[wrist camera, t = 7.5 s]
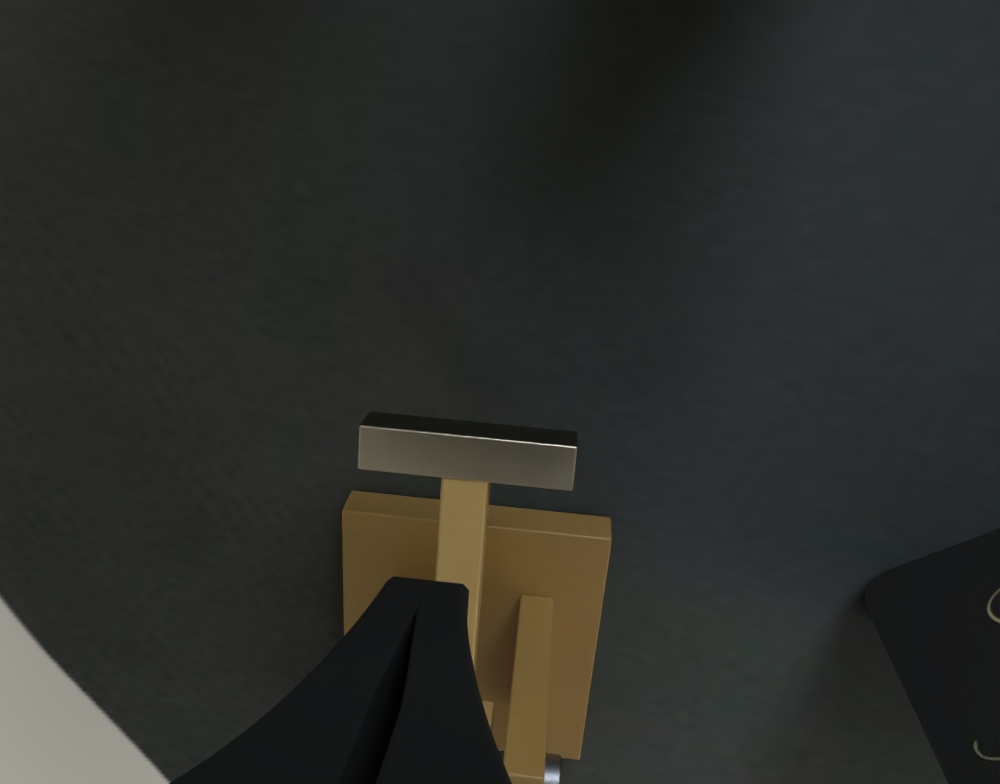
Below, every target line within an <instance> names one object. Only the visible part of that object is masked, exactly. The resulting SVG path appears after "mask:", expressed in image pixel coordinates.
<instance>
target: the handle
mask: <svg viewBox="0 0 1000 784" xmlns="http://www.w3.org/2000/svg"><path fill="white" fill-rule="evenodd" d="M577 452H578V437H577V432H574V431H564V430H554V429H543V428H533V427H523V426H513V425H503V424H493V423H483V422H473V421H463V420H452V419H442V418H432V417H422V416H412V415H402V414H392V413H382V412H372V411H371V412H369V413H368V415H367V416H366V417H365V419H364V420H363V421H362V422H361V424H360V425H359V439H358V469H363V470H373V471H383V472H392V473H402V474H412V475H421V476H431V477H441V491H440V507H439V523H438V539H437V555H436V571H435V581H442V582H451V583H460V584H464V585H465V586H466V587H467V588H468V590H469V601H468V617H467V626H468V636H469V643H470V650H471V655H472V660H473V665H474V670H476V658H477V645H478V633H479V620H480V608H481V596H482V583H483V571H484V558H485V546H486V533H487V521H488V509H489V496H490V484H491V483H499V484H509V485H519V486H529V487H538V488H548V489H558V490H568V491H572V490H573V488H574V479H575V470H576V461H577ZM482 702H483V706H484V709H485V713H486V716H487V719H488V722H489V726H490V729H491V731H492V727H493V716H494V703H493V702H489V701H482Z"/></svg>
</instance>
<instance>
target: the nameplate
mask: <svg viewBox="0 0 1000 784" xmlns="http://www.w3.org/2000/svg"><path fill="white" fill-rule="evenodd" d="M864 602H865V606H866V608H867V610H868V612H869V614H870V616H871V618H872V620H873V623H874V625H875V627H876V629H877V631H878V633H879V635H880V638H881V640H882V642H883V644H884V646H885V648H886V650H887V652H888V655H889V657H890V659H891V661H892V663H893V665H894V667H895V670H896V672H897V674H898V676H899V678H900V680H901V682H902V685H903V687H904V689H905V691H906V693H907V695H908V697H909V700H910V702H911V704H912V706H913V708H914V710H915V712H916V715H917V717H918V719H919V721H920V723H921V725H922V727H923V730H924V732H925V734H926V736H927V738H928V740H929V742H930V744H931V747H932V749H933V751H934V753H935V755H936V757H937V759H938V762H939V764H940V766H941V768H942V770H943V772H944V774H945V777H946V779H947V781H948V783H949V784H1000V529H999V530H996V531H993V532H991V533H988V534H985V535H982V536H980V537H977V538H974V539H972V540H969V541H966V542H964V543H961V544H958V545H956V546H953V547H950V548H947V549H945V550H942V551H939V552H937V553H934V554H931V555H929V556H926V557H923V558H920V559H918V560H915V561H912V562H910V563H907V564H904V565H901V566H898V567H896V568H893V569H890V570H888V571H886V572H884V573H882V574H880V575H879V576H878V577H876V578H875V579H874V580H873V581H872V582H871V583H870V584H869V586H868V587H867V589H866V593H865V597H864Z"/></svg>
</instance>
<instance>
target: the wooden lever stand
mask: <svg viewBox="0 0 1000 784" xmlns="http://www.w3.org/2000/svg"><path fill="white" fill-rule="evenodd" d="M439 507H440V500H439V499H430V498H420V497H410V496H401V495H391V494H381V493H372V492H362V491H351V493H350V495H349V497H348V499H347V501H346V503H345V506H344V508H343V510H342V553H343V608H344V636H345V634H346V633H347V632H348V631H349V630H350V629H351V628H352V626H353V625H354V624H355V623H356V622H357V620H358V619H359V618H360V617H361V615H362V614H363V613H364V612H365V610H366V609H367V608H368V606H369V605H370V604H371V603H372V601H373V600H374V599H375V597H376V596H377V594H378V593H379V592H380V590H381V589H382V587H383V586H384V584H385V583H386V581H387V580H389V579H390V578H392V577H393V576H396V577H405V578H414V579H423V580H433V581H435V571H436V555H437V539H438V523H439ZM611 543H612V531H611V519H610V518H609V517H602V516H593V515H583V514H574V513H564V512H554V511H545V510H535V509H526V508H516V507H506V506H497V505H489V509H488V521H487V533H486V546H485V558H484V571H483V583H482V596H481V608H480V620H479V633H478V645H477V658H476V670H475V675H476V680H477V684H478V688H479V692H480V695H481V699H482V701H489V702H493V703H494V716H493V727H492V734H493V737H494V740H495V743H496V745H497V748H498V750H499V751H504V758H503V763H504V766H505V768H506V770H507V773H508V775H509V778H510V780H511V782H512V784H561V765H562V760H561V758H566V759H575V760H579V759H580V754H581V747H582V741H583V734H584V727H585V720H586V713H587V707H588V700H589V693H590V686H591V679H592V673H593V666H594V659H595V652H596V645H597V639H598V632H599V625H600V618H601V611H602V605H603V598H604V591H605V584H606V577H607V571H608V564H609V557H610V550H611Z"/></svg>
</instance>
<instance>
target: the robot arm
mask: <svg viewBox="0 0 1000 784" xmlns="http://www.w3.org/2000/svg"><path fill="white" fill-rule="evenodd" d="M468 601H469V590H468V588H467V587H466V586H465V585H464V584H460V583H451V582H442V581H433V580H423V579H414V578H405V577H396V576H393V577H392V578H390V579H389V580H387V581H386V583H385V584H384V586H383V587H382V589H381V590H380V592H379V593H378V594H377V596H376V597H375V599H374V600H373V601H372V603H371V604H370V605H369V606H368V608H367V609H366V610H365V612H364V613H363V614H362V615H361V617H360V618H359V619H358V620H357V622H356V623H355V624H354V625H353V626H352V628H351V629H350V630H349V631H348V632H347V633H346V634H345V636H344V637H343V638H342V639H341V640H340V641H339V642H338V644H337V645H336V646H335V647H334V648H333V649H332V650H331V652H330V653H329V654H328V655H327V656H326V657H325V658H324V659H323V660H322V661H321V662H320V663H319V664H318V665H317V666H316V667H315V668H314V669H313V670H312V671H311V672H310V673H309V674H308V675H307V676H306V677H305V678H304V679H303V680H302V681H301V682H300V683H299V684H298V685H297V686H296V687H295V688H294V689H293V690H292V691H291V692H290V693H289V694H288V695H287V696H286V697H285V698H284V699H283V700H281V701H280V702H279V703H278V704H277V705H276V706H275V707H274V708H272V709H271V710H270V711H269V712H268V713H266V714H265V715H264V716H263V717H262V718H261V719H259V720H258V721H257V722H256V723H255V724H253V725H252V726H251V727H250V728H248V729H247V730H246V731H244V732H243V733H242V734H240V735H239V736H238V737H237V738H235V739H234V740H233V741H231V742H230V743H229V744H227V745H226V746H225V747H224V748H222V749H221V750H219V751H218V752H217V753H215V754H214V755H212V756H211V757H210V758H208V759H207V760H205V761H204V762H202V763H201V764H199V765H198V766H196V767H195V768H193V769H191V770H190V771H188V772H187V773H185V774H184V775H182V776H180V777H179V778H177V779H176V780H174V781H173V782H171V783H169V784H512V782H511V780H510V778H509V775H508V773H507V770H506V768H505V766H504V763H503V761H502V758H501V756H500V753H499V751H498V748H497V745H496V743H495V740H494V737H493V734H492V731H491V729H490V726H489V722H488V719H487V716H486V713H485V709H484V706H483V702H482V699H481V695H480V692H479V688H478V684H477V680H476V675H475V670H474V665H473V660H472V655H471V650H470V643H469V636H468V626H467V617H468Z"/></svg>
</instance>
